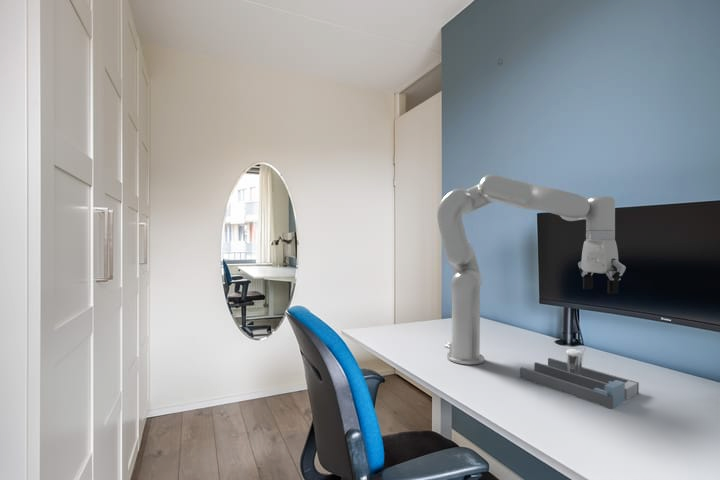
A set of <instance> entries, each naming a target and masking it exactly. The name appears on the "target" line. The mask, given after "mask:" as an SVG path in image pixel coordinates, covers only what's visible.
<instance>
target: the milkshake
mask: <svg viewBox="0 0 720 480" xmlns="http://www.w3.org/2000/svg"><path fill="white" fill-rule="evenodd" d="M586 349H587V347H584V349H583V351H580V350H579V349H575V348H568V349H567V350H566V351H565V357H566V362H567V368H568V372H571V373H574V374H578V375H581V368H582V367H583V359H584V353H585V351H586Z"/></svg>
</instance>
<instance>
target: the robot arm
mask: <svg viewBox="0 0 720 480" xmlns="http://www.w3.org/2000/svg"><path fill="white" fill-rule="evenodd" d="M494 202H497V203H501V204H505V205H508V206H513V207H515V208H519V209H522V210H528V211H529V210H530V211H531V210H533V211H535V210H536V211H541V212H546V213H550V214H554V215H556V216H559V217H560V218H561V219H562V220H565V221H568V222H575V221H581V220H585V228H586V229H585V240H584V242H583V246H582V251H581V252H582V253H581V260H580V261H579V262H578V263H577V265H578V268H579V272H580V274H581V277H582V289H583V290H593V289H594V277H593V274H594V273H596V274H605V275H606V277H608V279H609V280H607V294H610V295H614V294H615V295H616V294H617V295H618V294H619V292H620V290H619V288H620V287H619V283H620V282H619V281H620V280H621V278H622V277H623V276H624V273H625V272H626V268H627V267H626V265H624V264H622V263H621V262H620V261H619V251H618V250H619V249H618V245H617V242H616V241H617V240H616V201H615V198H614V197H612V196H606V195H605V196H592V197H589V198H586V197H584V196H583V195H581V194H577V193H573V192H569V191H565V190H561V189H559V188H553V187H547V186H543V185H539V184H533V183H529V182H524V181H521V180H517V179H512V178H509V177H506V176H501V175H497V174H487V175H485V176H483V177H482V178H481V180H480V181H479V183H478V184H475V185H474V186H472V187H469V188H467V189H463V188H454V189H453V190H451V191H449V192H448V193H447V194H446V195H444V197H443V198H442V199H441V201H440V202H439V205H438V208H437V211H436V212H437V213H436V214H437V215H436V217H437V224H438V229H439V233H440V237H441V242H442V245H443V250H444V254H445V255H444V256H445V258H446V261H447V262H448V263H449V265H451V268H452V273H453V276H452V279H451V283H450V291H451V292H450V295H451V341H447V342H446V344H444V348H445V349H449V351H448V353H447V354H446V355H447V359H448V360H449V361H451V362H453V363H456V364H461V365H467V366H470V365H471V366H472V365H481V364H483V363H484V362H485V356H484V355H483V354H481V353H480V352H481V351H480V349H481V347H480V346H481V345H480V344H481V343H480V341H481V302H480V301H481V286H482V276H481V272H480V268H479V264H478V260H477V257H476V253H475V251H474V248H473V246H472V244H471V243H470V242H469V241H468V239H467V238H468V237H467V235H466V231H465V226H464V222H463V219H462V217H463V215H467V214H468V215H469V214H470V213H472V212H474V211H477V210H479V209H481V208H484V207H486V206H488V205H490V204H492V203H494Z"/></svg>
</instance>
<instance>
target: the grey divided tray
mask: <svg viewBox="0 0 720 480" xmlns="http://www.w3.org/2000/svg"><path fill="white" fill-rule="evenodd" d="M519 378H520V379H524V380H527V381H528V382H532V383H536V384H538V385H540V386H543V387H546V388H548V389H549V388H550V389H552V390H556V391H558V392H561V393H564V394H566V395H570V396H573V397H576V398H578V399H581V400H584V401H587V402H590V403H592V404H596V405H598V406H602V407H603V408H604V407H605V408H607V409H611V410H612V409H614V408H615V407H617V406H619V405H621V404H622V403H624V402H626V401H627V400H629V399H630V400H631V398H632V397H635V396H637V395H638V394H639V391H640V390H639V389H640V388H639V387H640V383H639V382H638V381H635V380H630V379H627V378H624V377H621V376H617V375H613V374H609V373H606V372H603V371H598V370H596V369H592V368H587V367H585V366H582V368H581V375H578V374H574V373H571V372H568V368H567V361H566V362H565V361H562V360H558V359H555V358H551V357H548V358H547V364H544V363H540V362H534V369H533V370H532V369H529V368H527V367H523V366H521V367H519Z"/></svg>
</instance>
